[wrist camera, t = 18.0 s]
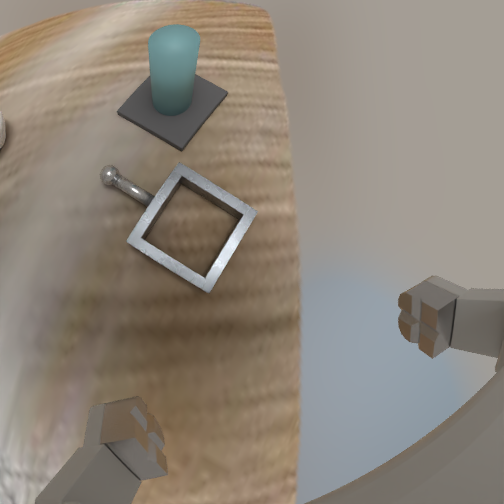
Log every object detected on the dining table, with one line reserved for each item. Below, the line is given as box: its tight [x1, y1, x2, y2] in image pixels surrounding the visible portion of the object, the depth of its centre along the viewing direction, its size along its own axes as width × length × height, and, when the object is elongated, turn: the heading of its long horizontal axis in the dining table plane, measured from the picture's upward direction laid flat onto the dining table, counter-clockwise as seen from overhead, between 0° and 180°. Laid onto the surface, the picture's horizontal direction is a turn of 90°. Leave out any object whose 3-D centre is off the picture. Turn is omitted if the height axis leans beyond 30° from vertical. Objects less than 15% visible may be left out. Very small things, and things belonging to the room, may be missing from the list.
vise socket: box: [100, 162, 258, 293], centre depth 28 cm, size 16×9×2 cm, turn 59°
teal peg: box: [148, 25, 200, 116], centre depth 25 cm, size 4×4×10 cm
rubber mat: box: [117, 74, 228, 151], centre depth 30 cm, size 9×9×1 cm
